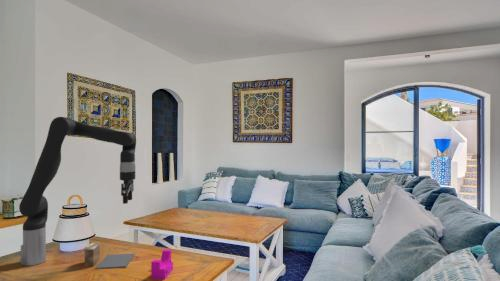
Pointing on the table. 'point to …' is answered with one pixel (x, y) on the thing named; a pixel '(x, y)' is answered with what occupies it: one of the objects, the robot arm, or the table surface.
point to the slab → (92, 254)
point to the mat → (115, 261)
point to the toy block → (162, 266)
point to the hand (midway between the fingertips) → (127, 201)
